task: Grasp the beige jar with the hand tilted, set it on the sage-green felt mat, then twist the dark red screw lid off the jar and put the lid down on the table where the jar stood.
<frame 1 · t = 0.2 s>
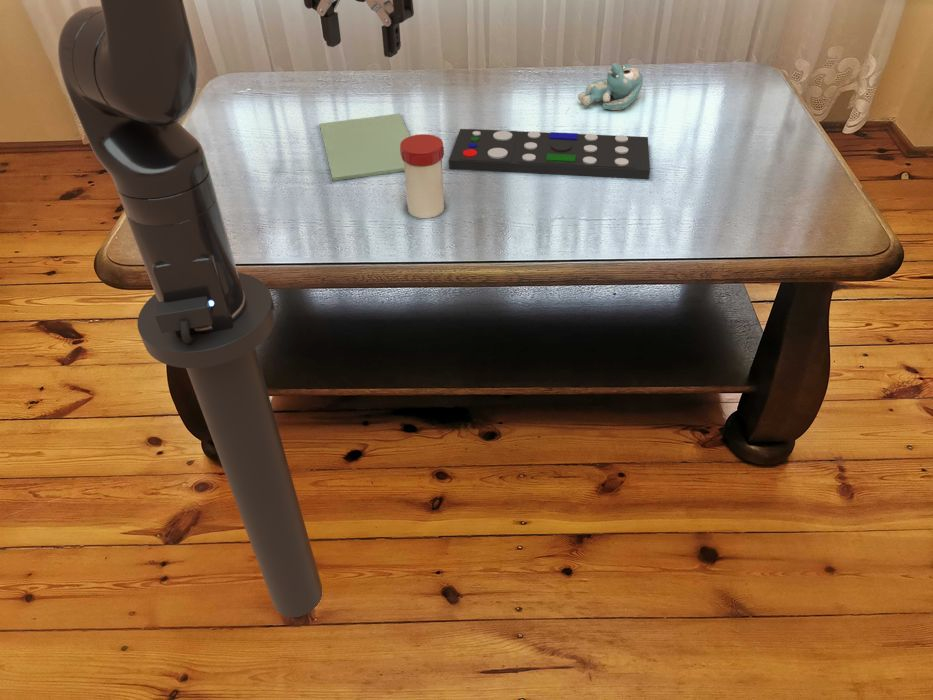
hand: (362, 50, 94), 22 cm above the table, tool pointing down, fingers open, 8 cm apart
stuffed animal: (609, 102, 133), on the table
red lid: (421, 146, 101), point 10 cm above the table, screwed on, not yet turned
beige jar: (426, 208, 107), on the table
felt mat: (368, 146, 122), on the table
remote control: (549, 158, 118), on the table
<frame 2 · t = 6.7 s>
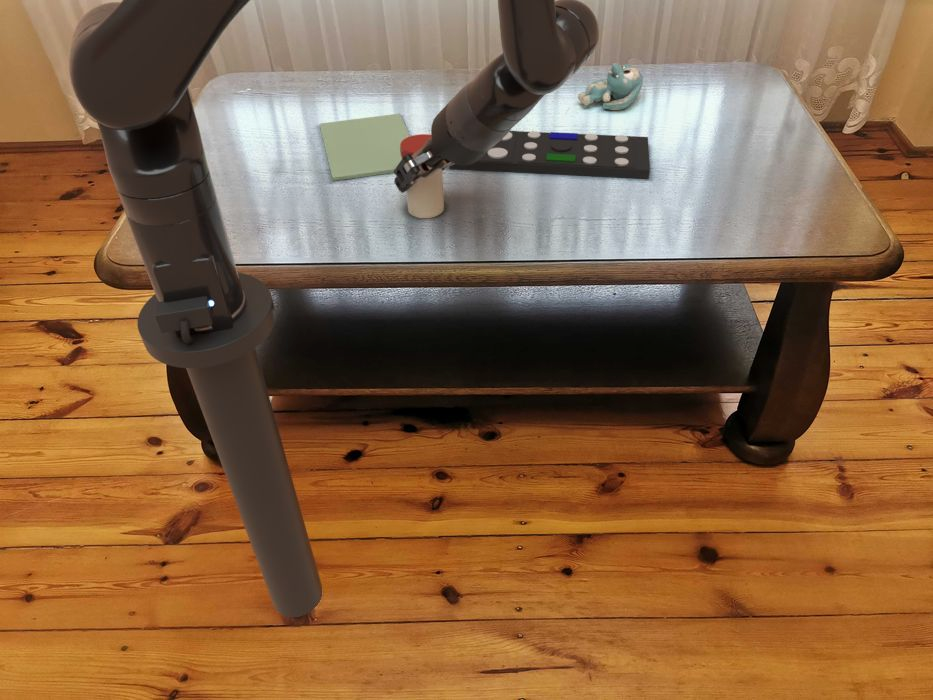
hand: (415, 178, 105), 4 cm above the table, tool tilted 45°, fingers closed on beige jar, 5 cm apart
beige jar: (426, 208, 107), on the table, touching gripper
everything else where it was.
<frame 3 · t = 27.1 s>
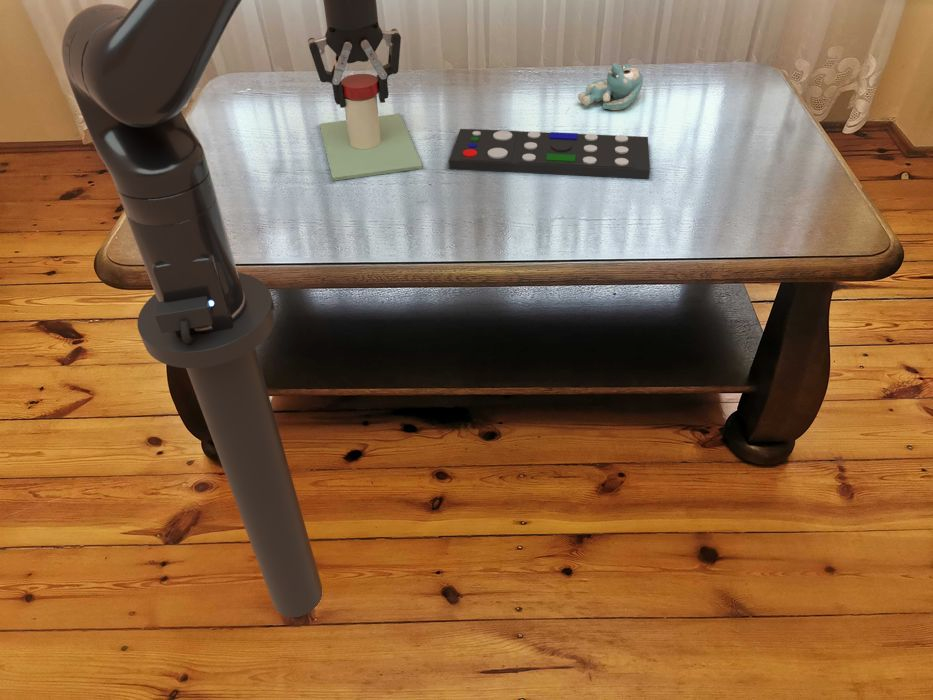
hand: (362, 102, 118), 7 cm above the table, tool pointing down, fingers closed on red lid, 5 cm apart
red lid: (359, 83, 116), point 10 cm above the table, off its thread, touching gripper
beige jar: (365, 142, 122), point 1 cm above the table, touching felt mat, gripper
everything else where it was.
when the fingers open (0 cm above the table, at t = 36.0 s): red lid drops 1 cm, point 1 cm above the table.
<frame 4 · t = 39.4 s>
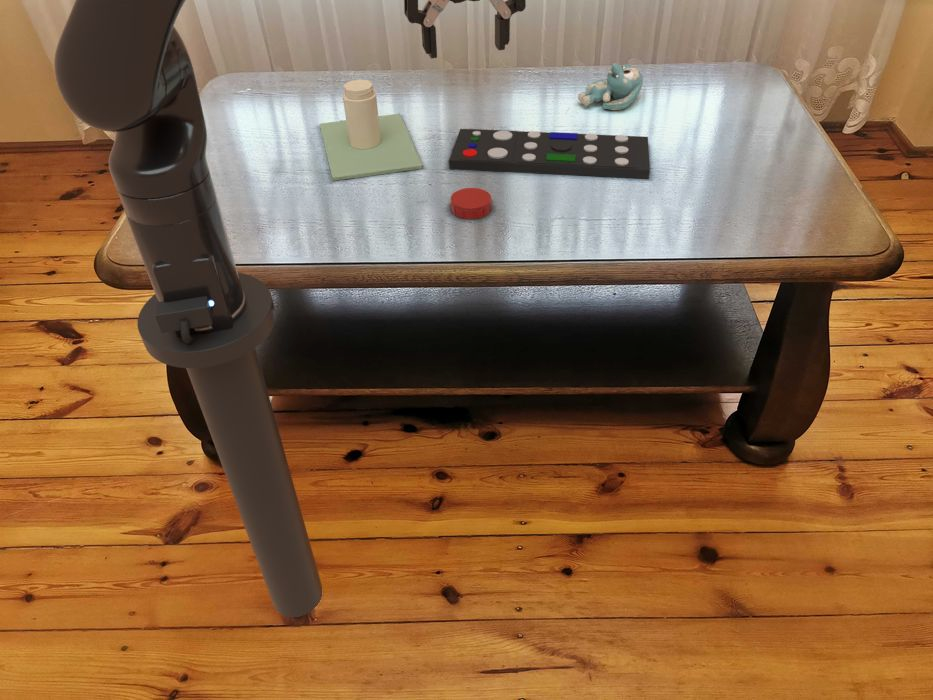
hand: (466, 52, 92), 22 cm above the table, tool pointing down, fingers open, 8 cm apart
red lid: (470, 200, 106), point 1 cm above the table, off its thread
beige jar: (365, 142, 122), point 1 cm above the table, touching felt mat
everything else where it was.
at the end: beige jar inside the target area on the felt mat (0.7 cm from its centre), point 0.6 cm above the felt mat's base; red lid point 1.4 cm above the table; the gripper is holding nothing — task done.
